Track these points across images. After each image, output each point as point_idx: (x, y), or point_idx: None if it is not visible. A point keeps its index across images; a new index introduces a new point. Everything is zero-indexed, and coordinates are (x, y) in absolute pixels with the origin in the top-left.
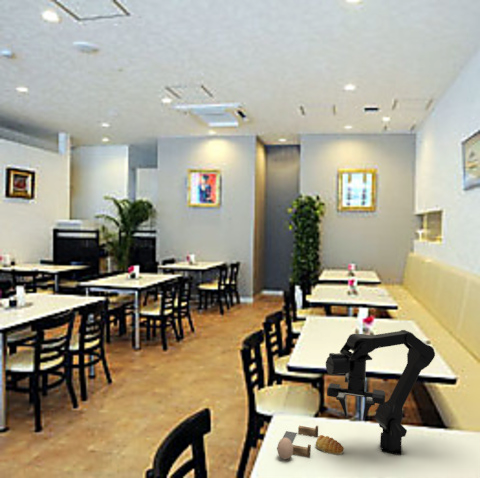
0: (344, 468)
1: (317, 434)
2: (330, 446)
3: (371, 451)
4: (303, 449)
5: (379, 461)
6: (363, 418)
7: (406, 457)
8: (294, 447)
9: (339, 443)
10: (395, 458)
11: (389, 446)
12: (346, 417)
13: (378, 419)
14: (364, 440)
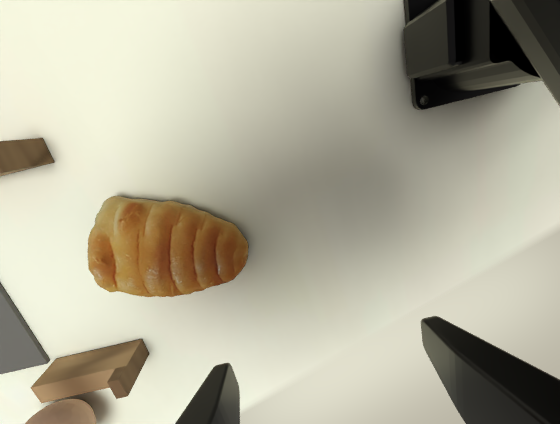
0: (298, 344)
1: (40, 161)
2: (189, 289)
3: (363, 138)
4: (107, 386)
5: (414, 214)
6: (444, 377)
7: (540, 90)
8: (66, 396)
9: (212, 234)
10: (484, 138)
11: (477, 89)
12: (234, 387)
13: (553, 51)
14: (295, 17)
